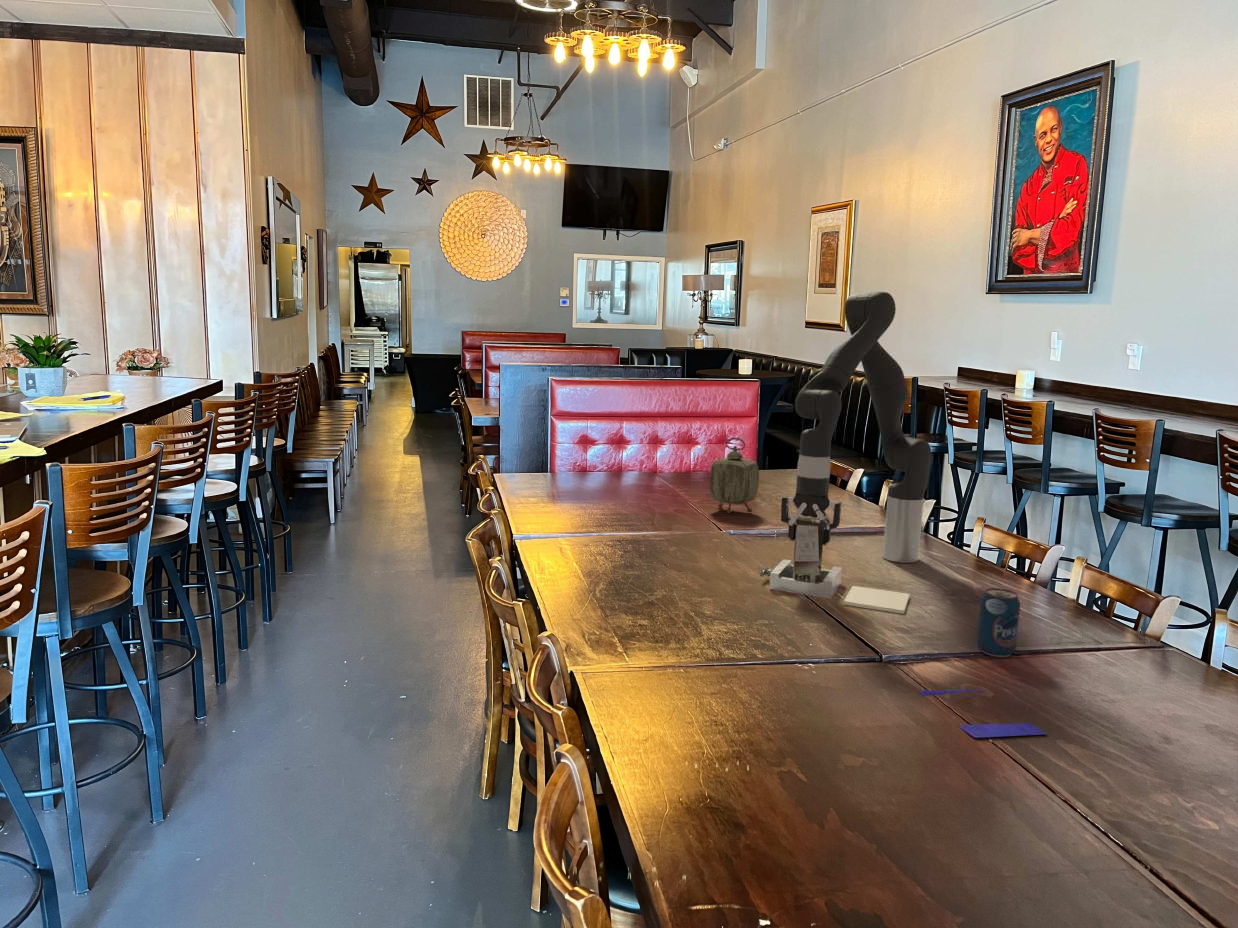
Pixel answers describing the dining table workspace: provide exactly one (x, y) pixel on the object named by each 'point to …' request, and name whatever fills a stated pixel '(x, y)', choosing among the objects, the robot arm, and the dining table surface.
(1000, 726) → the blue strips
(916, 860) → the dining table surface
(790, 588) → the grey drawer
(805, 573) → the coffee box
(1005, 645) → the soda can
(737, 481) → the tabletop clock
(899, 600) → the pad
